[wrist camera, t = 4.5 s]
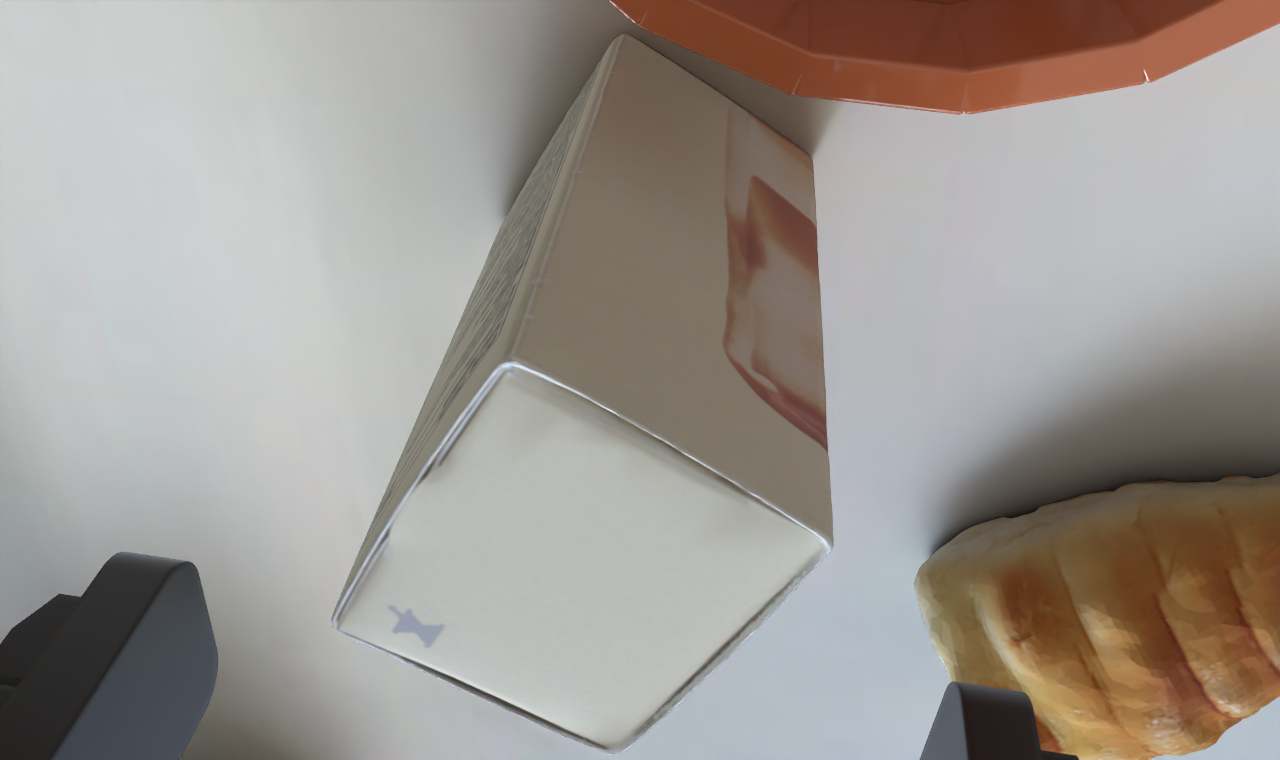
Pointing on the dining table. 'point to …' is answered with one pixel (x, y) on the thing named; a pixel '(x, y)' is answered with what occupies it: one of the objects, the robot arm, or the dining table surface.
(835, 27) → the bowl
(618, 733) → the printed white carton
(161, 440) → the dining table surface
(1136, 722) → the pastry
